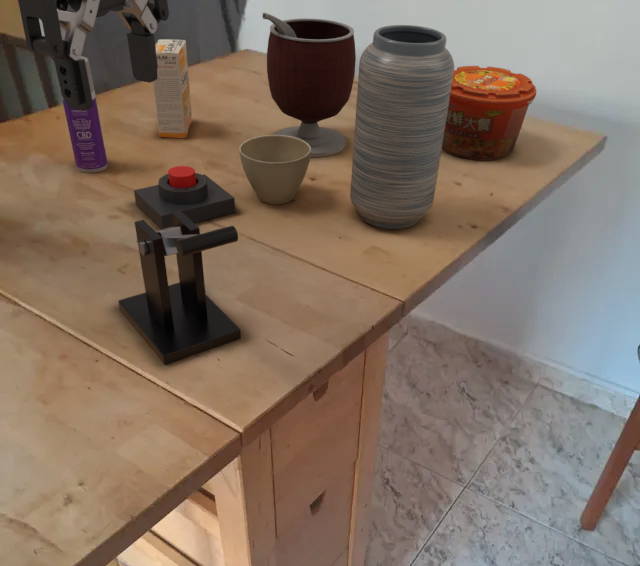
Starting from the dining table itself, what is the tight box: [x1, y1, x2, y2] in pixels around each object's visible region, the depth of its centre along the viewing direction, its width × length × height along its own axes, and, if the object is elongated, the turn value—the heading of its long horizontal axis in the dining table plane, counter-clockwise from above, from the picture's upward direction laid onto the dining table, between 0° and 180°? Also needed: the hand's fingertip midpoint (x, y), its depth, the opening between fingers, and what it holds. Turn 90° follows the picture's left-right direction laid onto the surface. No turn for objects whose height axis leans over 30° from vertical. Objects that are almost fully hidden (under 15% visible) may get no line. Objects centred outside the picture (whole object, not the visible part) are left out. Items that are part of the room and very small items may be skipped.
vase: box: [349, 24, 455, 230], centre depth 90 cm, size 12×12×23 cm
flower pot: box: [238, 134, 311, 205], centre depth 98 cm, size 10×10×7 cm
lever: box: [155, 225, 239, 257], centre depth 65 cm, size 12×6×2 cm, turn 34°
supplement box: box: [152, 38, 193, 139], centre depth 114 cm, size 8×5×13 cm, turn 0°
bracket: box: [117, 211, 242, 365], centre depth 72 cm, size 12×9×12 cm
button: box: [167, 165, 196, 188], centre depth 93 cm, size 4×4×2 cm
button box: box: [133, 172, 236, 230], centre depth 95 cm, size 11×9×4 cm
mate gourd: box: [262, 12, 357, 158], centre depth 109 cm, size 16×14×20 cm
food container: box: [442, 65, 537, 161], centre depth 114 cm, size 16×16×11 cm
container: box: [59, 56, 109, 174], centre depth 101 cm, size 5×5×15 cm
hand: (114, 93), depth 58 cm, fingers open, 8 cm apart
